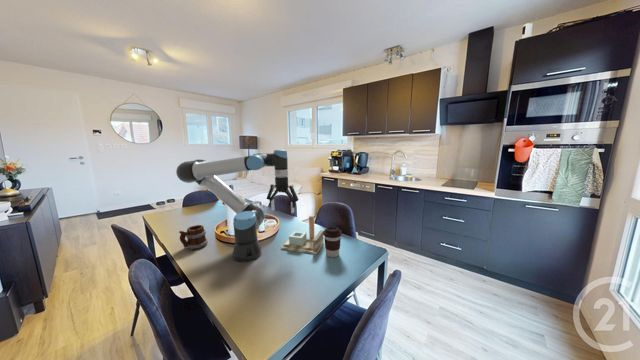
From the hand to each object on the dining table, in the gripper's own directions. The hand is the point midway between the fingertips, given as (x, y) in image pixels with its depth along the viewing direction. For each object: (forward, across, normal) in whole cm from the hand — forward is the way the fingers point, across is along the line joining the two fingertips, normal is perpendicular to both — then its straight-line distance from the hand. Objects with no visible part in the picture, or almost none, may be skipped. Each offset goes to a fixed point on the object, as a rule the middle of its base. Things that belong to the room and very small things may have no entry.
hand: (282, 211), depth 131 cm
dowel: (+20, +14, +11) cm, 27 cm away
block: (+19, +9, 0) cm, 21 cm away
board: (+20, +12, 0) cm, 24 cm away
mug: (+21, -49, -19) cm, 57 cm away
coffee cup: (+21, +32, -4) cm, 38 cm away
